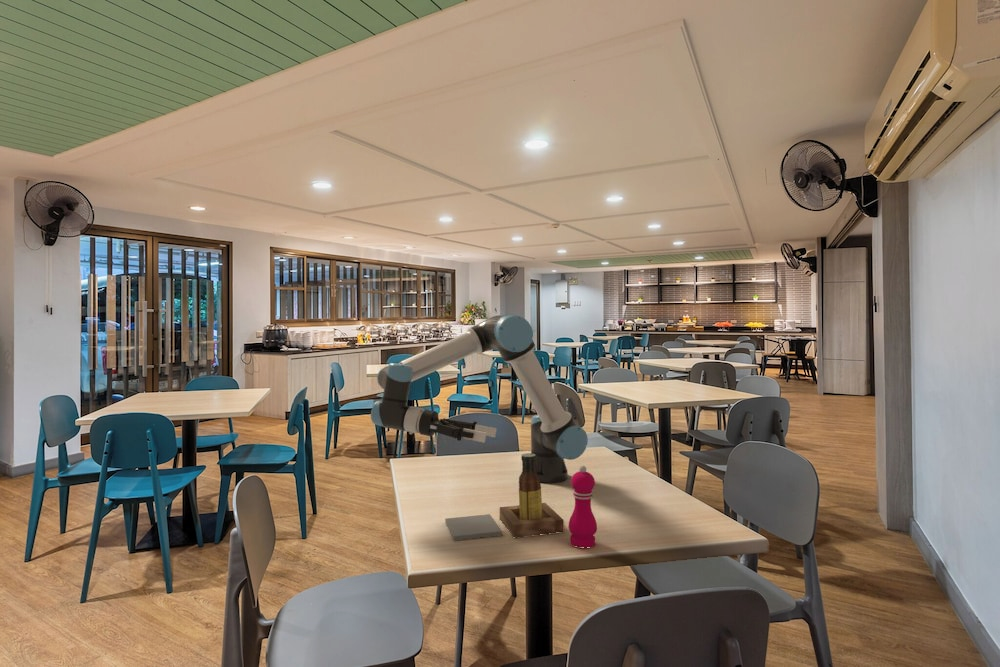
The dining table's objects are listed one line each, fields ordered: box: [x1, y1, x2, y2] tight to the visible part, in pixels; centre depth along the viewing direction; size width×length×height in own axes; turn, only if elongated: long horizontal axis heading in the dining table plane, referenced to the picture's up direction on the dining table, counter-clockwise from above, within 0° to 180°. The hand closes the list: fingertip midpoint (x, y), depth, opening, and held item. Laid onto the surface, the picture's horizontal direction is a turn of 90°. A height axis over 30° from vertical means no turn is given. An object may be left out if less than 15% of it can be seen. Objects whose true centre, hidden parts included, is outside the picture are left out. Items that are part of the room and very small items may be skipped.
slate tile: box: [444, 513, 503, 541], centre depth 144 cm, size 13×13×1 cm
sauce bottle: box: [518, 452, 543, 521], centre depth 146 cm, size 6×6×20 cm
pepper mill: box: [568, 465, 598, 548], centre depth 134 cm, size 7×7×20 cm
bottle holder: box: [499, 502, 565, 538], centre depth 146 cm, size 14×14×4 cm
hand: (491, 435), depth 152 cm, fingers open, 13 cm apart
